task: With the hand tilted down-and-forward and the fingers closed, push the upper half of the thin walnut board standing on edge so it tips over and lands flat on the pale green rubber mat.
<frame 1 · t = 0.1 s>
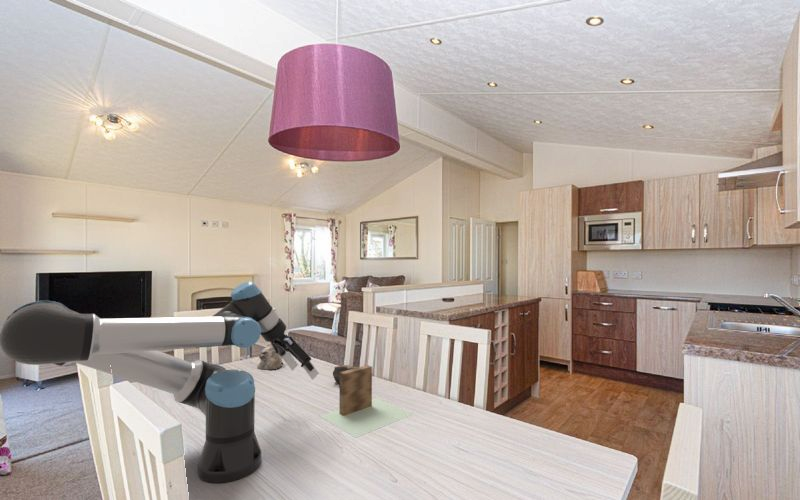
hand: (304, 371, 130), 15 cm above the table, tool tilted 35°, fingers open, 13 cm apart
rock 2: (270, 366, 187), on the table
rock: (351, 383, 163), on the table
mat: (366, 417, 130), on the table
board: (356, 409, 134), point 1 cm above the table, touching mat
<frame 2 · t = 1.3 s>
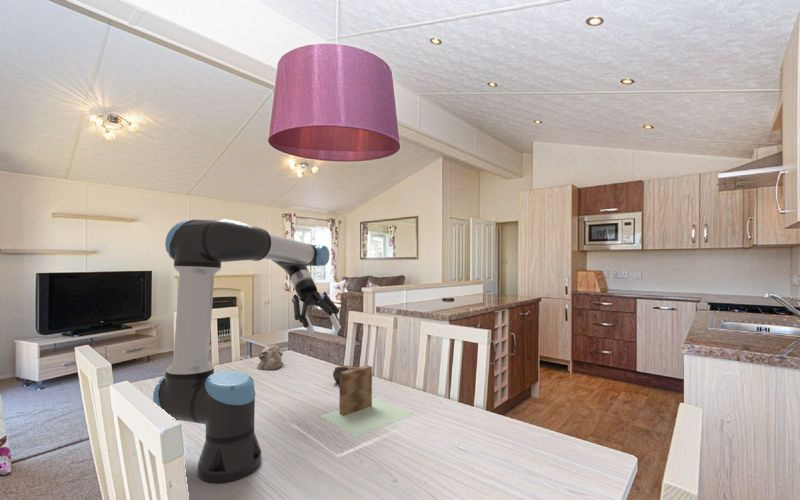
hand: (325, 331, 137), 27 cm above the table, tool tilted 45°, fingers open, 10 cm apart
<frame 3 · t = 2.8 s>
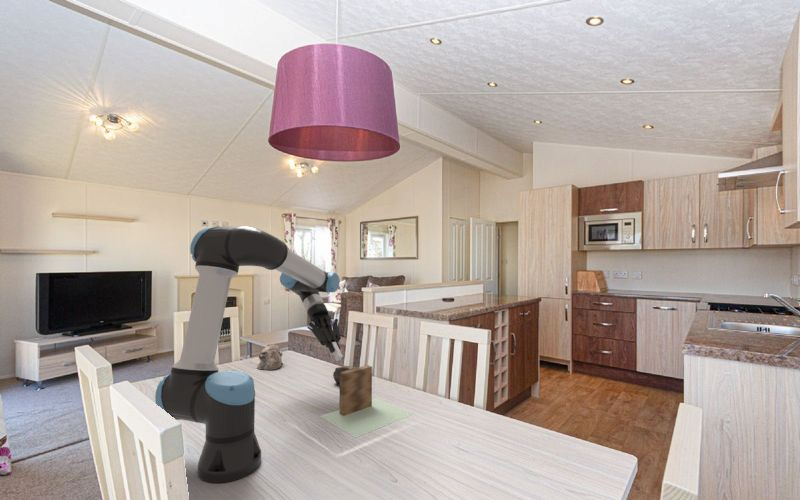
hand: (339, 358, 142), 16 cm above the table, tool tilted 45°, fingers closed
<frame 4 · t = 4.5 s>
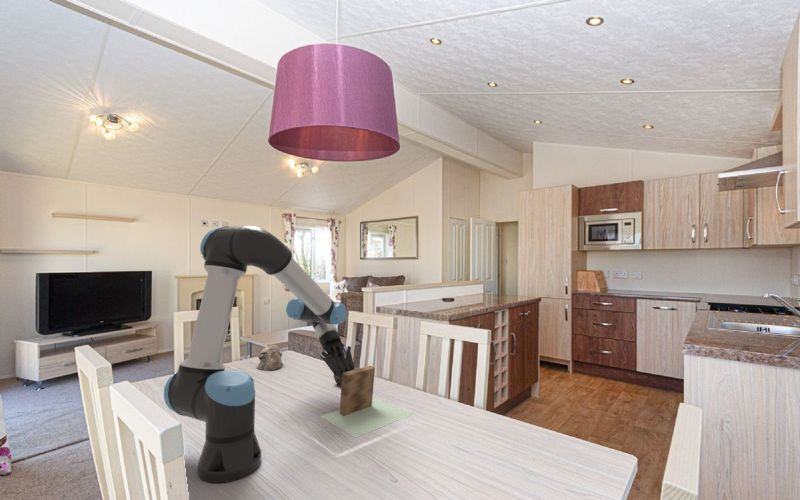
hand: (353, 390, 135), 7 cm above the table, tool tilted 45°, fingers closed
board: (356, 409, 134), point 1 cm above the table, tilted 7°, touching mat
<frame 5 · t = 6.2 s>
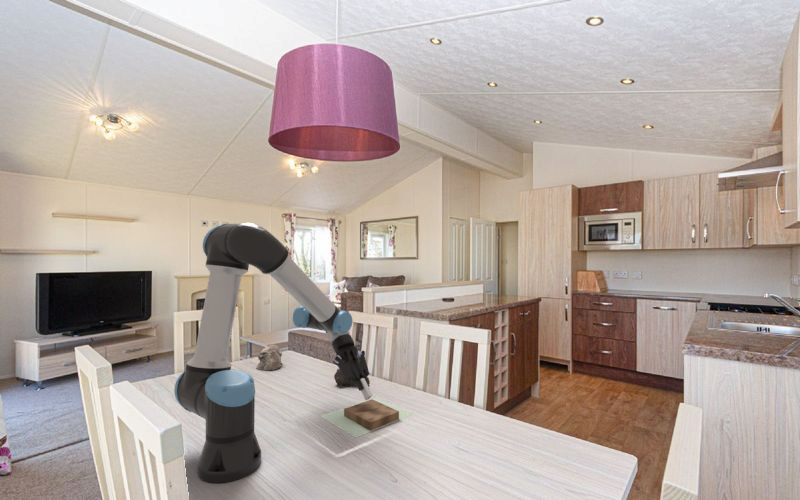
hand: (369, 397, 129), 7 cm above the table, tool tilted 45°, fingers closed
board: (358, 407, 133), point 2 cm above the table, tilted 90°, touching mat
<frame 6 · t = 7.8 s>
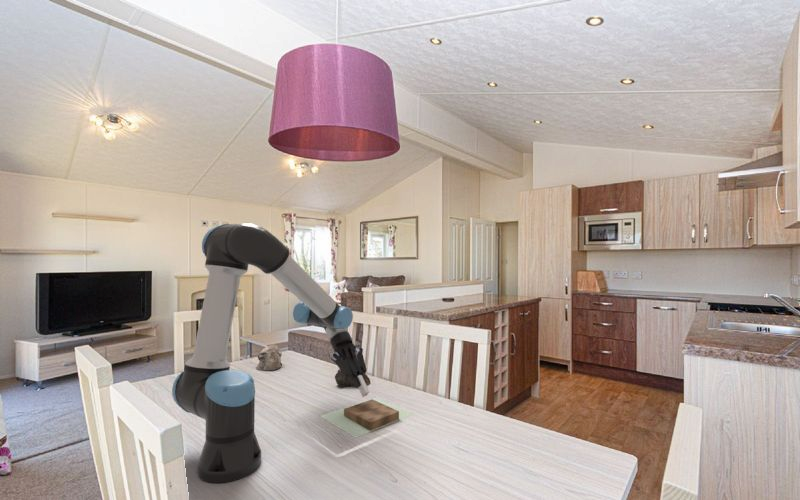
hand: (366, 394, 130), 8 cm above the table, tool tilted 45°, fingers closed
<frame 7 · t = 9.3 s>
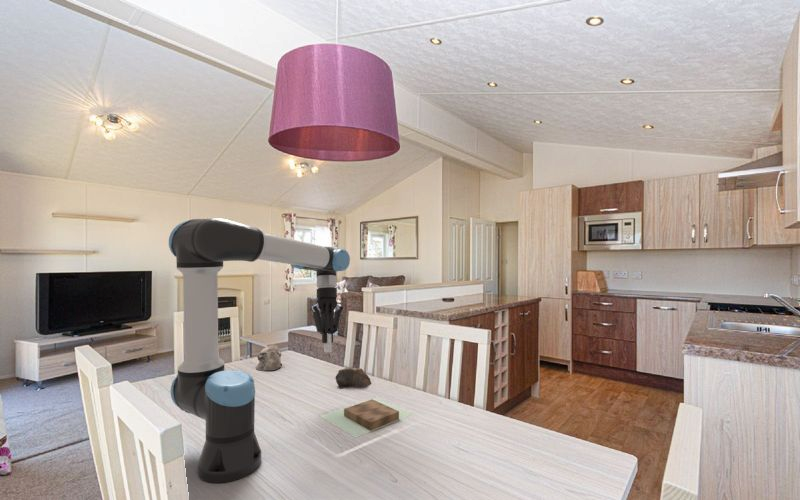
hand: (327, 352, 140), 19 cm above the table, tool pointing down, fingers closed
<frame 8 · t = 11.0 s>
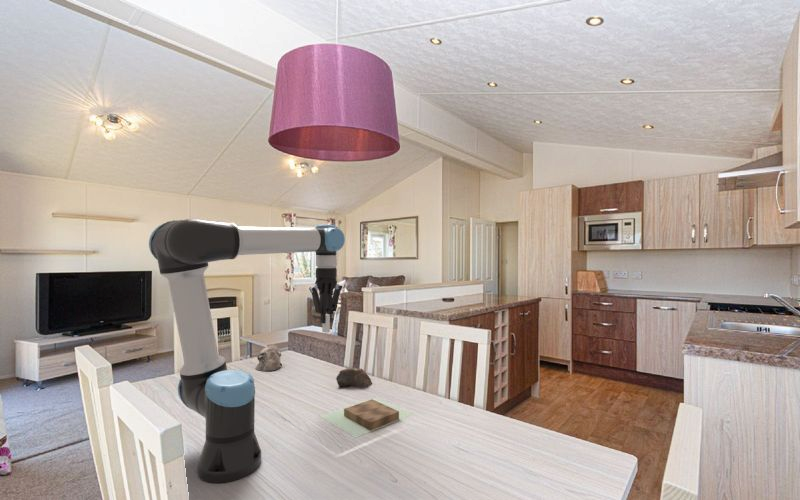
hand: (326, 331, 141), 26 cm above the table, tool pointing down, fingers closed
at the end: board tilted 90°; board inside the target area (5.5 cm from its centre), point 2.0 cm above the table; the gripper is holding nothing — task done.
